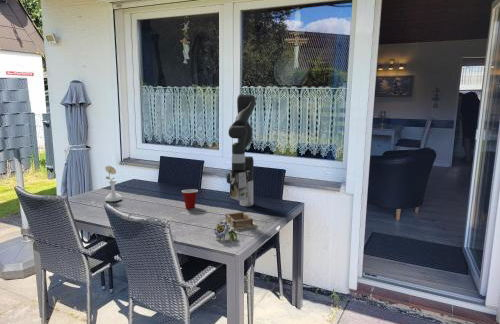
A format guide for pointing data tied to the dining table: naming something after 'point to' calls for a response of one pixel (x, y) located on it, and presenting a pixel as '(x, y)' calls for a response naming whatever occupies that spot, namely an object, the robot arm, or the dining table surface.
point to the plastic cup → (189, 198)
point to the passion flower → (224, 231)
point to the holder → (239, 221)
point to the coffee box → (239, 186)
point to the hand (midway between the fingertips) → (238, 189)
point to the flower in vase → (112, 186)
